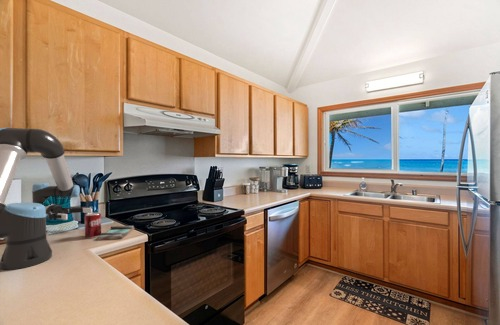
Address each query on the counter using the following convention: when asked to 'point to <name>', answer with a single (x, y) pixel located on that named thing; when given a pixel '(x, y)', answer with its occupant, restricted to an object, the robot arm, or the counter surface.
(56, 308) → the counter surface
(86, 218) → the soda can
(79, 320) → the counter surface
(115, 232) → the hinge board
